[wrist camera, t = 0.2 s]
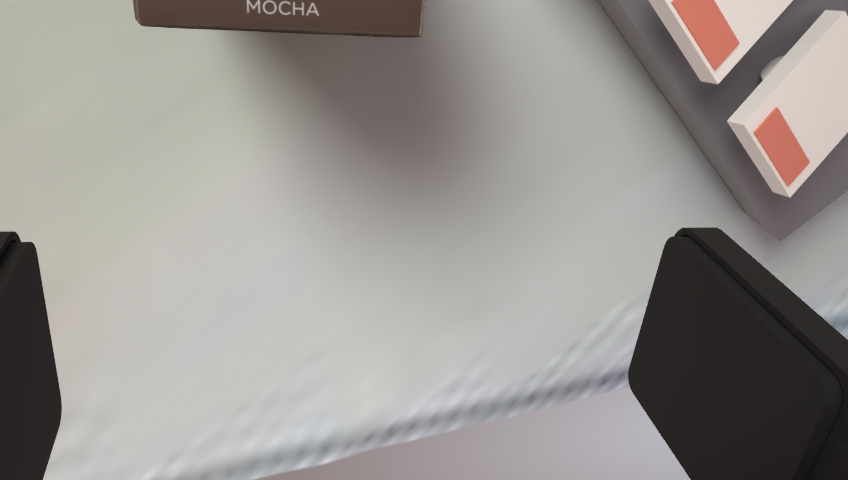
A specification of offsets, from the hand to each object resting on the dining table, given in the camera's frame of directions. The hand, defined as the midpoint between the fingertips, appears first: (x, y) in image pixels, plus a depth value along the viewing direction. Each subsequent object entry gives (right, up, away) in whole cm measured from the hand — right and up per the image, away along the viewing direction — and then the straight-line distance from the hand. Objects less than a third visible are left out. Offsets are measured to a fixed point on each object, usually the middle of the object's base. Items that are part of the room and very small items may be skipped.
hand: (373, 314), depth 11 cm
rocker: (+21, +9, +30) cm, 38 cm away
